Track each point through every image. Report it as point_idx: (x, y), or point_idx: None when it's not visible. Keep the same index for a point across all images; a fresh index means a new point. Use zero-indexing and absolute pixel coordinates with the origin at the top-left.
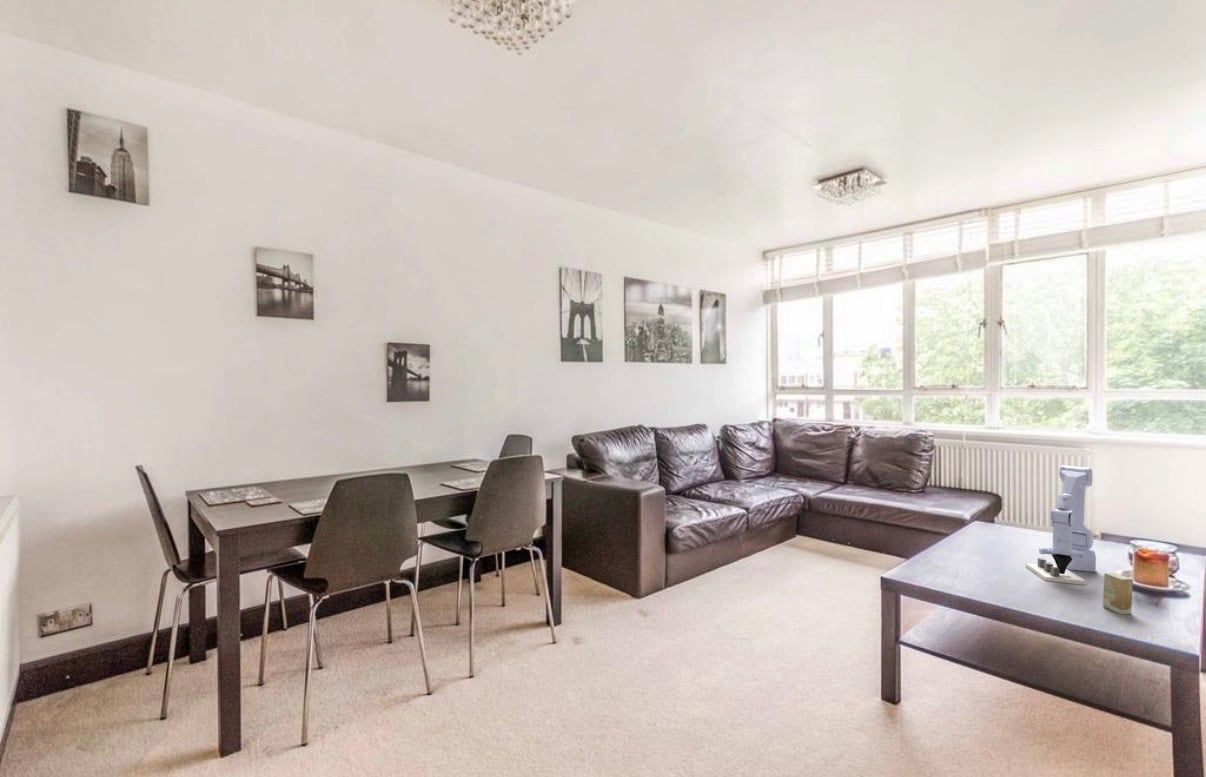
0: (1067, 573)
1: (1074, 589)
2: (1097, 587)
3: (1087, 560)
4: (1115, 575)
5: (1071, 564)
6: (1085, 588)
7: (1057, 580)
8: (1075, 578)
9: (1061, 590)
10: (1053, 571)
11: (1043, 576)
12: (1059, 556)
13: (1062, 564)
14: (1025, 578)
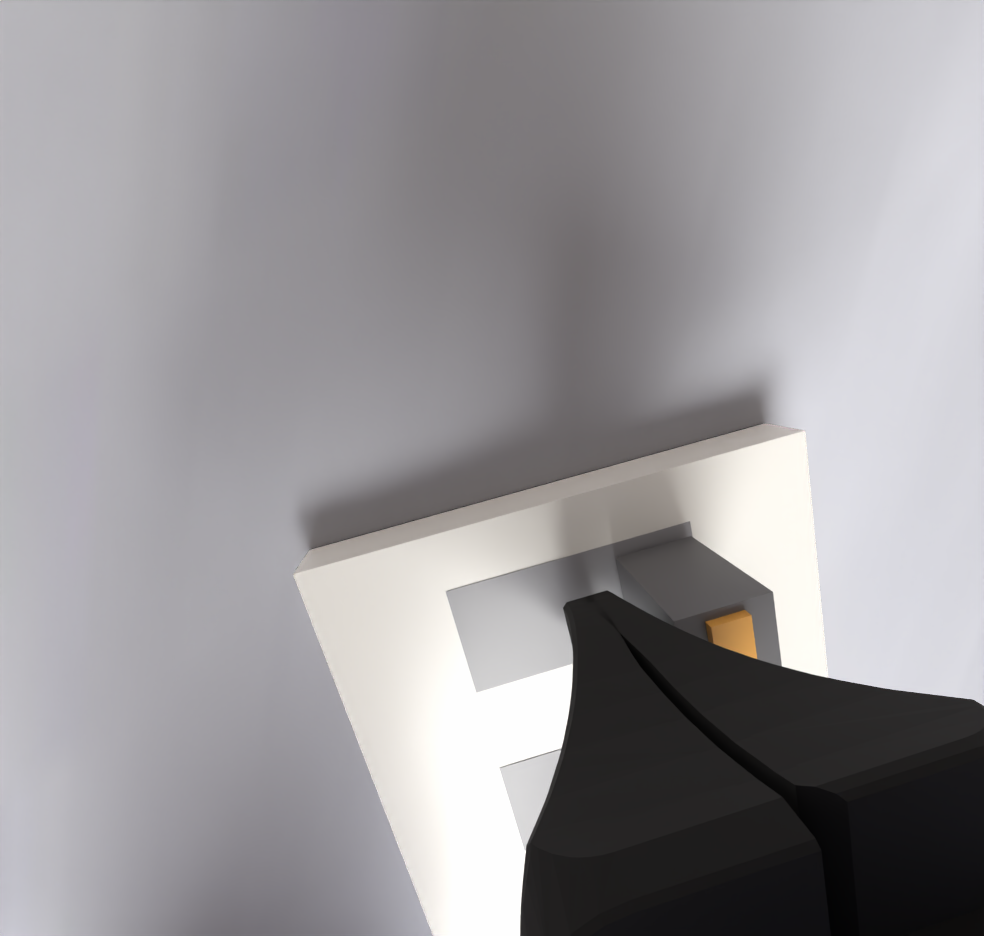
0: (472, 797)
1: (486, 193)
2: (168, 510)
3: None
4: None
5: None
6: (329, 352)
7: (639, 463)
8: (410, 614)
9: (680, 7)
10: (733, 569)
11: (799, 489)
12: (968, 928)
13: (695, 675)
14: (975, 380)
